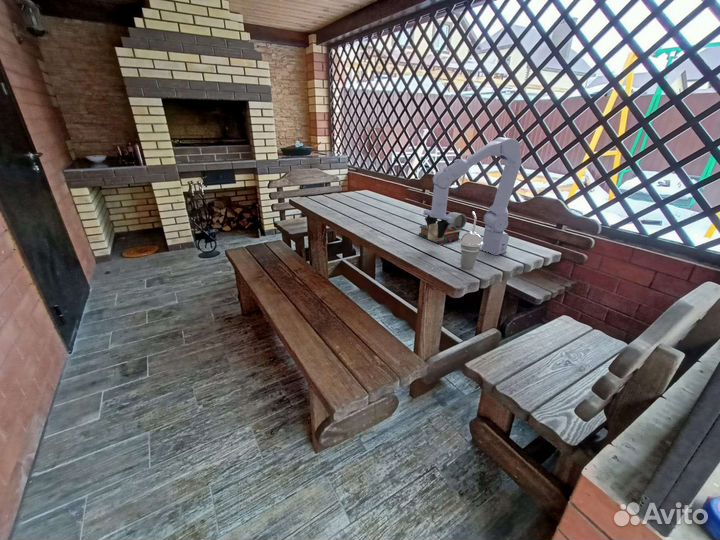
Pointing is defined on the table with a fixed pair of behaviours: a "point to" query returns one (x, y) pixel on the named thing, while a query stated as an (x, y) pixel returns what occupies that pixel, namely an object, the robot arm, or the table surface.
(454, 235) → the decorative book
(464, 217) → the ceramic mug
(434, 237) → the birch block
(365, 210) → the table surface
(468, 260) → the cup with straw
